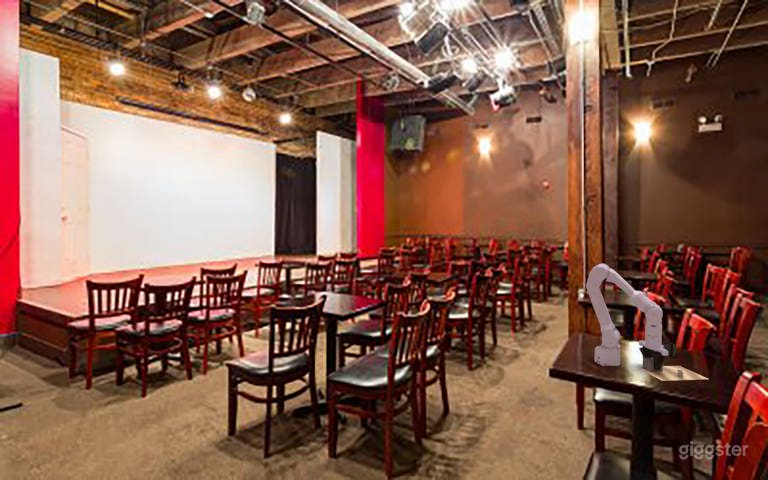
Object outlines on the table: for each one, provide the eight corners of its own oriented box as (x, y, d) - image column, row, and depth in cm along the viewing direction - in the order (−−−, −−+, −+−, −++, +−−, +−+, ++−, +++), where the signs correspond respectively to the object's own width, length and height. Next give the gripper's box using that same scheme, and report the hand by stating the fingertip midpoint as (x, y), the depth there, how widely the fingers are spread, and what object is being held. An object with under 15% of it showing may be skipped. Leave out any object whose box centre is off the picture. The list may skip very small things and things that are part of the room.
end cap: (676, 357, 197) (677, 343, 196) (666, 359, 194) (666, 345, 193) (655, 351, 206) (656, 337, 205) (645, 353, 203) (645, 339, 203)
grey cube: (650, 372, 174) (651, 360, 174) (642, 367, 179) (642, 356, 179) (662, 371, 174) (662, 360, 174) (653, 367, 179) (654, 356, 179)
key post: (683, 377, 168) (683, 372, 168) (678, 377, 169) (678, 372, 168) (681, 374, 171) (681, 369, 171) (677, 374, 171) (677, 369, 171)
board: (662, 384, 165) (662, 380, 165) (636, 370, 180) (636, 367, 180) (708, 382, 166) (708, 379, 166) (679, 369, 181) (679, 365, 181)
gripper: (676, 339, 169) (674, 373, 170) (650, 330, 184) (649, 361, 184) (658, 340, 169) (658, 374, 169) (634, 330, 183) (633, 361, 184)
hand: (652, 367), depth 177 cm, fingers closed on grey cube, 5 cm apart
